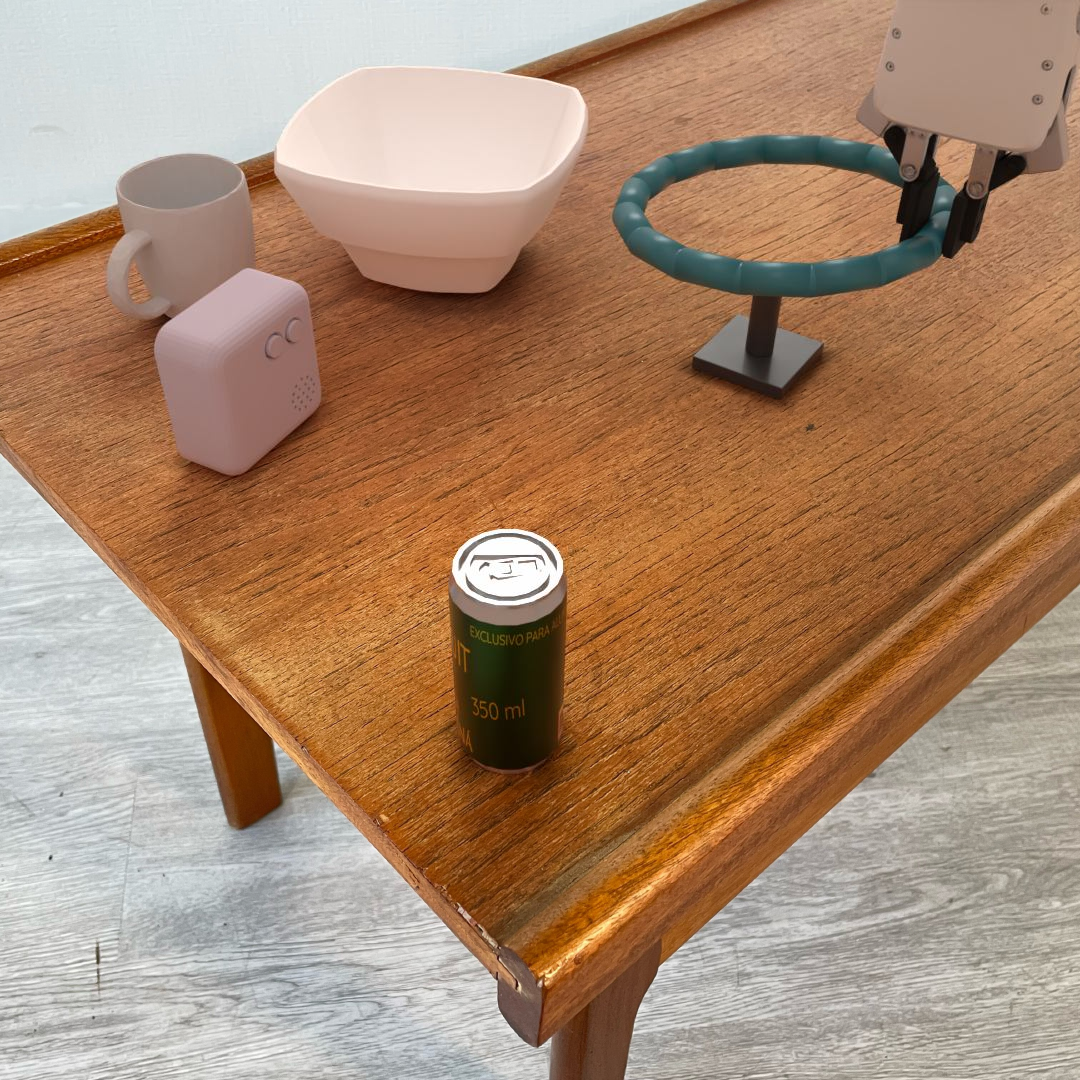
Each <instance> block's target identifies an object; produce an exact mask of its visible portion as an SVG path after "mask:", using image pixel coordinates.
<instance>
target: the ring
mask: <svg viewBox="0 0 1080 1080" xmlns="http://www.w3.org/2000/svg"><path fill="white" fill-rule="evenodd" d="M758 165H759V166H760V165H786V166H787V165H789V166H790V165H793V166H794V165H795V166H796V165H797V166H819V167H825V168H830V169H836V170H841V171H847V172H854V173H858V174H864V175H868V176H871V177H873V178H876V179H879V180H881V181H884V182H885V183H888V184H891V185H893V186H895V187H897V188H900V189H903V185H904V181H905V180H903V179H902V178H901V177H900V174H899V168H900V166H899V165H898V163H897V161H896V160H895V158H894V157H893V155H892V153H891V152H890V150H889V149H888V147H884V146H882V145H878V144H873V143H869V142H868V143H867V142H862V141H858V140H857V141H856V140H849V139H844V138H839V137H832V136H827V135H826V136H825V135H806V134H803V135H802V134H757V135H750V136H749V135H748V136H743V137H742V136H741V137H735V138H727V139H718V140H712V141H705V142H702V143H700V144H697V145H693V146H691V147H687V148H684V149H681V150H678V151H674V152H672V153H668V154H665V155H661V156H660V157H657V158H656V159H655V160H653V161H652V162H651V163H649V164H647V165H646V166H645V167H644V168H642V169H640V170H639V171H638V172H636V173H635V174H633V175H632V176H631V177H629V178H628V179H626V180H625V181H624V183H623V184H622V186H621V189H620V192H619V194H618V197H617V200H616V201H615V205H614V207H613V210H612V215H611V219H612V223H613V226H614V227H615V229H616V230H617V232H618V234H619V236H620V237H621V239H622V241H623V243H624V244H625V246H626V248H627V250H628V251H629V253H630V254H631V255H632V256H634V257H635V258H636V259H639V260H641V261H642V262H644V263H646V264H648V265H649V266H651V267H653V268H655V269H656V270H658V271H659V272H661V273H664V274H665V275H667V276H668V277H670V278H672V279H674V280H676V281H679V282H684V283H688V284H692V285H696V286H700V287H705V288H708V289H711V290H717V291H720V292H724V293H729V294H733V295H738V296H752V297H753V296H775V297H782V298H799V299H812V298H820V297H826V296H832V295H839V294H846V293H854V292H860V291H866V290H874V289H878V288H883V287H884V286H886V285H887V286H888V285H890V284H891V283H894V282H896V281H899V280H901V279H903V278H906V277H909V276H911V275H913V274H916V273H918V272H920V271H923V270H925V269H928V268H930V267H932V266H933V265H934V264H935V263H936V262H937V261H938V260H939V259H940V258H941V257H942V256H943V254H941V253H942V244H943V240H944V236H945V232H946V228H947V224H948V220H949V216H950V212H951V208H952V204H953V200H954V198H955V196H956V195H957V194H958V193H959V191H957V188H955V187H954V185H952V184H950V183H949V182H948V181H947V180H946V179H945V178H943V177H942V176H941V175H940V178H939V182H938V186H937V190H936V194H935V199H934V203H933V207H932V211H931V215H930V220H929V221H928V222H927V223H926V224H925V225H924V226H923V227H922V229H921V230H920V231H919V232H918V233H917V234H916V235H915V236H914V237H913V238H910V239H908V240H905V241H903V242H900V243H899V242H897V243H895V244H894V245H890V246H887V247H885V248H883V249H880V250H878V251H875V252H872V253H870V254H863V255H862V254H861V255H855V256H849V257H842V258H841V257H840V258H836V259H835V258H834V259H827V260H822V261H821V260H820V261H814V262H797V261H796V262H794V261H770V260H769V261H767V260H766V261H765V260H744V259H739V258H735V257H730V256H726V255H722V254H717V253H714V252H709V251H704V250H699V249H696V248H691V247H688V246H686V245H685V244H683V243H681V242H679V241H677V240H675V239H673V238H671V237H669V236H667V235H666V234H663V233H662V232H660V231H658V230H656V229H654V226H653V225H652V224H651V222H650V221H649V219H648V217H647V216H646V214H645V213H646V211H647V207H648V204H649V202H650V201H651V200H652V199H653V198H655V197H657V196H658V195H659V194H660V193H662V192H663V191H665V190H666V189H667V188H669V187H670V186H672V185H674V184H678V183H680V182H683V181H686V180H689V179H692V178H695V177H697V176H701V175H704V174H706V173H710V172H714V171H720V170H721V171H722V170H728V169H737V168H743V167H751V166H758Z"/></svg>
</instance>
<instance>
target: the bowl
mask: <svg viewBox="0 0 1080 1080" xmlns="http://www.w3.org/2000/svg"><path fill="white" fill-rule="evenodd" d="M588 133H589V108H588V106H587V104H586V102H585V100H584V98H583V96H582V94H581V92H580V90H579V89H578V88H576V87H573V86H570V85H566V84H562V83H559V82H555V81H552V80H548V79H544V78H538V77H532V76H525V75H519V74H513V73H507V72H499V71H489V70H482V69H474V68H461V67H459V68H458V67H446V66H445V67H444V66H424V65H423V66H421V65H387V66H386V65H384V66H383V65H382V66H365V67H364V66H363V67H359V68H356V69H354V70H352V71H350V72H348V73H346V74H344V75H342V76H339V77H338V78H335V79H334V80H333V81H331V82H330V83H328V84H327V85H325V86H324V87H323V88H320V89H319V90H318V91H317V92H316V93H315V94H313V96H312V97H310V98H309V99H308V100H307V101H306V102H305V103H303V104H302V105H301V106H300V107H299V108H298V109H297V110H296V111H295V113H294V115H293V116H292V117H291V119H290V120H289V121H288V123H287V124H286V125H285V127H284V128H283V130H282V132H281V133H280V134H281V135H280V136H279V139H278V141H277V143H276V145H275V147H274V150H273V172H274V176H275V177H276V178H277V179H278V180H279V182H280V183H281V185H282V186H283V187H284V189H285V190H286V191H287V193H288V194H289V195H290V197H291V198H292V199H293V201H294V202H295V204H296V205H297V207H298V208H299V209H300V210H301V211H302V213H303V214H304V216H305V217H306V219H307V220H308V221H309V223H310V224H311V225H312V227H313V228H314V229H315V231H316V232H317V234H320V235H321V236H323V237H326V238H329V239H331V240H334V241H336V242H339V243H340V244H341V245H342V247H343V249H344V251H345V252H346V253H347V255H348V256H349V257H350V259H351V260H352V262H353V263H354V265H355V266H356V268H357V269H358V271H359V272H360V273H361V275H362V276H363V277H365V278H367V279H368V280H371V281H374V282H378V283H382V284H387V285H389V286H394V287H399V288H403V289H407V290H413V291H418V292H430V293H447V294H450V293H453V294H478V293H486V292H489V291H490V290H491V289H494V288H495V287H497V286H498V284H499V283H500V282H501V281H502V279H504V278H505V276H506V275H507V274H508V273H510V271H511V269H512V268H513V266H514V265H515V263H516V261H517V259H518V258H519V255H520V252H521V251H522V248H523V247H525V246H527V244H529V242H531V240H533V238H534V237H535V236H536V235H537V234H538V233H539V232H540V231H541V229H542V228H543V227H544V226H545V224H546V222H547V220H548V219H549V218H550V216H551V215H552V213H553V211H554V209H555V207H556V205H557V203H558V201H559V199H560V197H561V195H562V193H563V191H564V189H565V187H566V185H567V183H568V181H569V179H570V177H571V175H572V173H573V171H574V169H575V167H576V165H577V163H578V161H579V159H580V157H581V155H582V152H583V150H584V147H585V143H586V140H587V136H588Z"/></svg>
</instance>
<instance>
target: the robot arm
mask: <svg viewBox="0 0 1080 1080" xmlns="http://www.w3.org/2000/svg"><path fill="white" fill-rule="evenodd" d="M880 54H881V55H880V59H879V62H878V67H877V71H876V75H875V81H874V84H873V85H872V87H871V89H870V90H869V92H868V94H867V95H866V97H865V98H864V100H863V101H862V103H861V105H860V106H859V107H858V109H857V111H856V113H855V118H856V120H857V122H858V123H859V124H860V125H862V126H863V127H865V128H866V129H867V130H868V131H870V132H871V133H872V134H874V135H875V136H876V137H878V138H882V139H883V141H884V144H885V145H886V148H887V149H889V150H890V152H891V153H892V155H893V157H894V158H895V160H896V161H897V163H898V165H899V166H900V168H899V174H900V177H901V178H902V179H903V180H905V181H904V185H903V188H902V189H901V194H900V199H899V205H898V208H897V213H896V217H895V223H896V224H899V225H902V226H901V229H900V234H899V240H898V243H900V242H903V241H905V240H908V239H910V238H913V237H914V236H915V235H916V234H917V233H918V232H919V231H920V230H921V229H922V227H923V226H924V225H925V224H926V223H927V222H928V221H929V220H930V215H931V211H932V207H933V203H934V199H935V194H936V190H937V186H938V182H939V178H940V176H941V172H939V169H940V167H938V166H937V161H936V160H935V159H936V157H937V152H938V147H939V143H940V139H941V137H945V138H949V139H952V140H957V141H961V142H966V143H970V144H974V145H975V149H974V154H973V157H972V161H971V166H970V169H969V173H968V177H967V179H966V180H965V181H964V182H963V186H962V188H961V189H960V190H959V191H958V194H957V195H956V196H955V198H954V200H953V204H952V208H951V212H950V216H949V220H948V224H947V228H946V232H945V236H944V240H943V244H942V253H941V254H942V257H943V258H945V259H950V260H952V259H953V258H954V257H955V256H956V255H958V253H959V251H960V250H961V249H962V248H963V247H964V246H965V245H966V243H967V244H970V245H972V244H973V243H974V242H975V241H976V239H977V237H979V236H978V235H979V232H980V230H981V226H982V223H983V220H984V215H985V212H986V208H987V204H988V200H989V197H990V194H991V192H993V191H994V190H996V189H998V188H1000V187H1002V186H1004V185H1005V184H1007V183H1009V182H1010V181H1012V180H1014V179H1016V178H1018V177H1019V176H1024V175H1028V176H1029V175H1034V174H1035V175H1037V174H1043V173H1049V172H1056V171H1059V170H1060V169H1061V168H1063V167H1064V165H1065V164H1067V162H1068V161H1069V159H1070V156H1071V153H1070V152H1071V151H1070V144H1069V135H1068V127H1067V126H1068V125H1067V120H1066V116H1067V113H1068V111H1069V107H1070V105H1071V101H1072V97H1073V95H1074V90H1075V86H1076V83H1077V78H1078V72H1079V70H1080V0H896V2H895V5H894V8H893V11H892V15H891V18H890V21H889V25H888V29H887V32H886V36H885V39H884V43H883V47H882V50H881V53H880Z"/></svg>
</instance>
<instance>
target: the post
mask: <svg viewBox="0 0 1080 1080" xmlns="http://www.w3.org/2000/svg"><path fill="white" fill-rule="evenodd" d="M782 299H783V297H775V296H752V299H751V304H750V305H751V306H750V310H749V316H748V315H747V316H746V315H744V314H741V313H737V314H736V315H735V316H734V317H733V318H731V319H730V320H729V322H727V323H726V324H725V325H724V326H723V327H722V328H721V329H720V330H719V331H718V332H717V333H716V334H714V336H712V337H711V339H709V340H708V341H707V342H706V343H705V344H704V345H703V346H702V347H701V348H700V349H699V350H698V351H697V352H696V353H695V354H693V356H692V361H691V368H692V369H695V370H698V371H700V372H703V373H704V374H705V373H706V374H708V375H711V376H713V377H717V378H719V379H722V380H725V381H727V382H729V383H733V384H735V385H738V386H741V387H744V388H746V389H749V390H752V391H754V392H757V393H760V394H763V395H765V396H767V397H770V398H774V399H776V400H779V401H781V400H782V399H783V398H784V397H785V396H786V395H787V393H788V392H789V391H790V390H791V389H792V388H793V386H794V385H796V383H797V382H798V381H799V380H800V379H801V378H802V377H803V376H804V375H805V373H806V372H807V371H808V370H809V369H810V368H811V367H812V366H813V365H814V363H816V362H817V360H819V358H820V357H821V356H822V355H823V351H824V346H825V343H824V342H822V341H819V340H817V339H813V338H811V337H809V336H805V335H802V334H799V333H796V332H793V331H791V330H789V329H788V330H787V329H784V328H781V327H779V326H778V325H779V319H780V312H781V306H782Z"/></svg>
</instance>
